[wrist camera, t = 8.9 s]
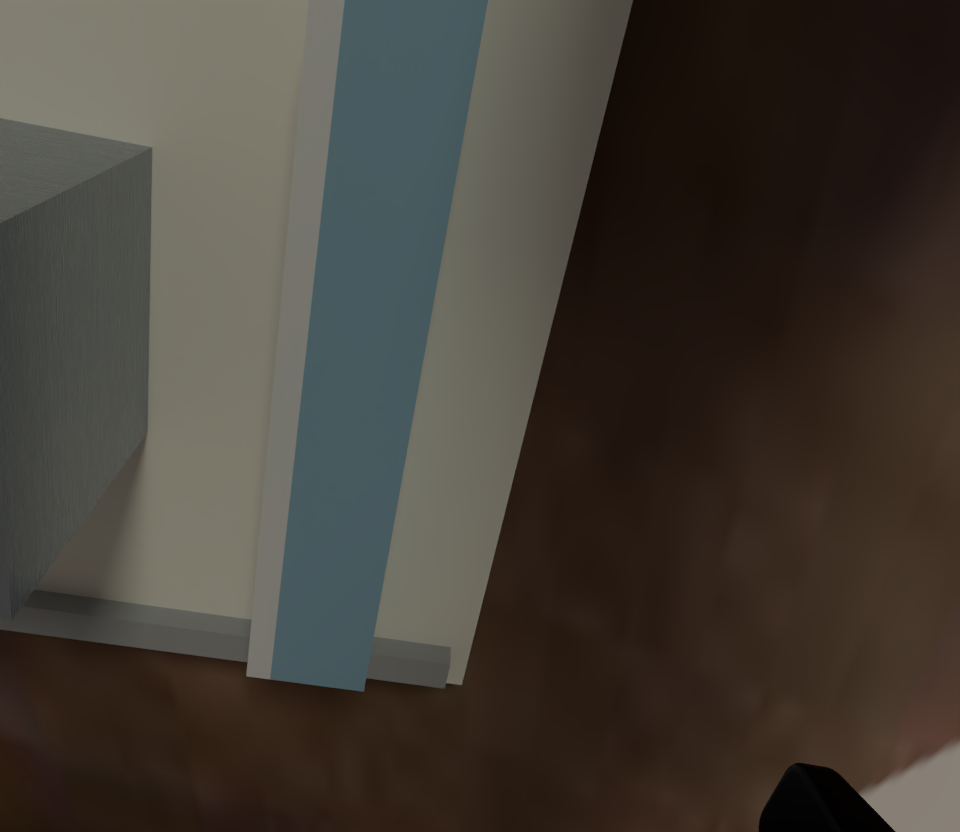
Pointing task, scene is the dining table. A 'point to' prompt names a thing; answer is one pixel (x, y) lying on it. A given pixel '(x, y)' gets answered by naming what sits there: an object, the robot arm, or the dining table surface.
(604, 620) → the dining table surface
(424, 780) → the dining table surface
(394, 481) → the vise free jaw
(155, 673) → the dining table surface
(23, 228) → the steel block
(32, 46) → the vise bed
